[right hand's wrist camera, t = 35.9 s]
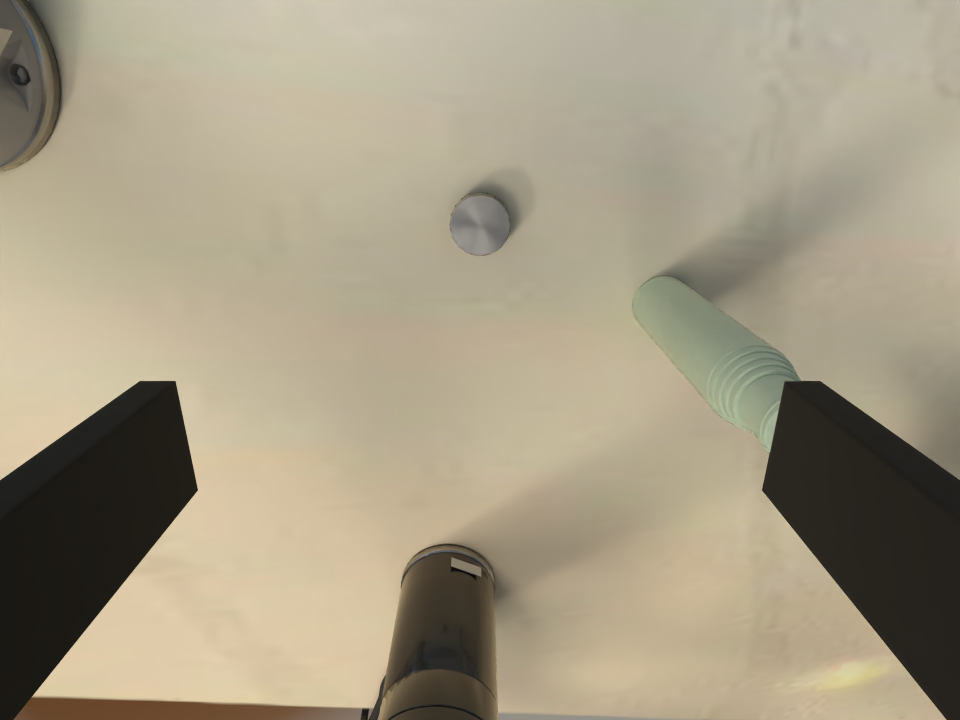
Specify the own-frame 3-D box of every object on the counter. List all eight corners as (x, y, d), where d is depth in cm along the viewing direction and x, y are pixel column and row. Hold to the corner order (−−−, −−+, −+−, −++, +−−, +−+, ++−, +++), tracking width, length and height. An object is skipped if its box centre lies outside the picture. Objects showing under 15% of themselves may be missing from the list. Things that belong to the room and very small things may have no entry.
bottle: (634, 335, 49) (749, 481, 28) (629, 281, 47) (748, 393, 26) (691, 325, 49) (850, 466, 28) (688, 271, 47) (854, 376, 26)
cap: (519, 233, 46) (521, 238, 44) (468, 261, 47) (468, 267, 45) (491, 180, 45) (492, 182, 43) (440, 210, 45) (438, 213, 43)
